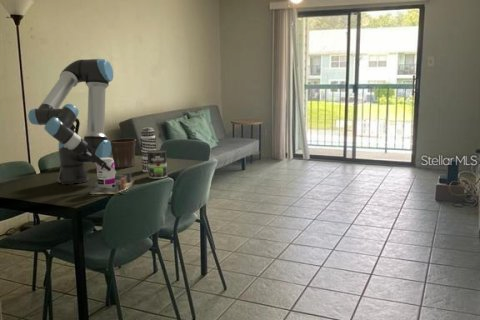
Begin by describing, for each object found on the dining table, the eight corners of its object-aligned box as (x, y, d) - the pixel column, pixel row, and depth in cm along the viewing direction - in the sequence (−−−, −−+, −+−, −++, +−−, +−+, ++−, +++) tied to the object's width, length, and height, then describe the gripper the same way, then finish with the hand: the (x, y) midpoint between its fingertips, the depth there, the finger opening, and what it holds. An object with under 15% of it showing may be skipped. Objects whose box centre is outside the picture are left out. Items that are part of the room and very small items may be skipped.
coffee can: (168, 177, 257) (167, 152, 254) (149, 179, 254) (147, 153, 251) (166, 174, 266) (165, 149, 264) (147, 175, 264) (146, 150, 261)
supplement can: (117, 186, 234) (115, 156, 231) (113, 190, 226) (111, 159, 223) (100, 187, 234) (98, 157, 231) (96, 191, 226) (94, 160, 223)
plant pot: (131, 169, 283) (130, 142, 280) (106, 168, 285) (104, 142, 282) (141, 163, 298) (140, 138, 296) (117, 163, 301) (115, 138, 298)
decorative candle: (146, 172, 270) (143, 129, 266) (139, 170, 278) (136, 127, 273) (160, 170, 276) (158, 127, 271) (153, 168, 283) (151, 126, 278)
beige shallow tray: (89, 195, 224) (88, 182, 222) (104, 182, 250) (103, 170, 249) (124, 194, 224) (123, 181, 223) (134, 181, 251) (133, 169, 249)
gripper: (64, 147, 229) (98, 173, 239) (77, 154, 208) (113, 182, 218) (74, 135, 230) (107, 161, 241) (88, 140, 209) (123, 169, 220)
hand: (110, 171), depth 230 cm, fingers open, 13 cm apart
